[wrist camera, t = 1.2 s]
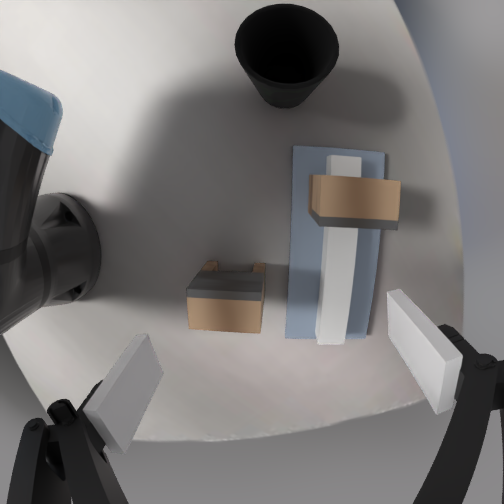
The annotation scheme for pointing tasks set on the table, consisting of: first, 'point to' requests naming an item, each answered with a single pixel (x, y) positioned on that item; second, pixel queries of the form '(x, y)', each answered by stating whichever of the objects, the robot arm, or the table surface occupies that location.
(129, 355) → the robot arm
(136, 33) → the table surface
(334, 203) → the fixed jaw
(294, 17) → the cup
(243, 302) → the two-tone tabbed box
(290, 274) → the rail
